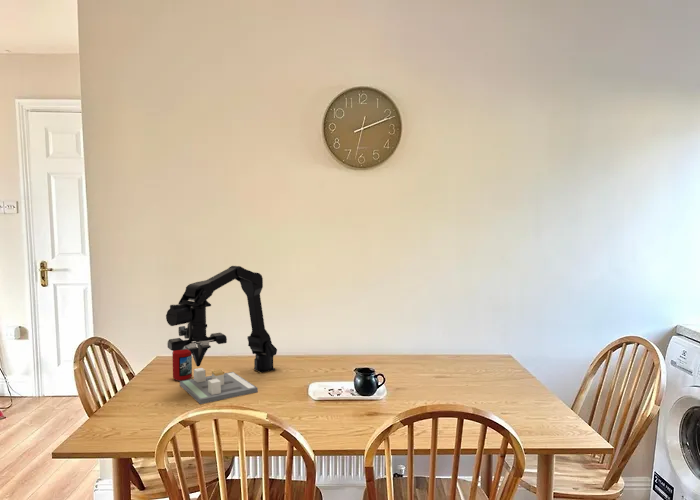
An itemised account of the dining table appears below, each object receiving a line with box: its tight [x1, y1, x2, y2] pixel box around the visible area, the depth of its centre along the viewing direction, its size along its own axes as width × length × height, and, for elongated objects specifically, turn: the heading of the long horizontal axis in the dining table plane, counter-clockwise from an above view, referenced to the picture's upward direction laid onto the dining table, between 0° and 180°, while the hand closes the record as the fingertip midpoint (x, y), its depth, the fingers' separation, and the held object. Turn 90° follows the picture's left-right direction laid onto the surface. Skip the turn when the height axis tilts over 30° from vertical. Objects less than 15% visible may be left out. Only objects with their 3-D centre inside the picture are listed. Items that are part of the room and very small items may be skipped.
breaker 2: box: [208, 379, 221, 395], centre depth 166 cm, size 3×4×4 cm
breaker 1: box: [193, 367, 206, 383], centre depth 179 cm, size 3×4×4 cm
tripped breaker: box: [211, 369, 225, 385], centre depth 175 cm, size 3×4×4 cm
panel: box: [179, 371, 259, 405], centre depth 175 cm, size 20×22×2 cm
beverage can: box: [172, 346, 193, 382], centre depth 185 cm, size 7×7×12 cm
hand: (198, 366), depth 171 cm, fingers closed
